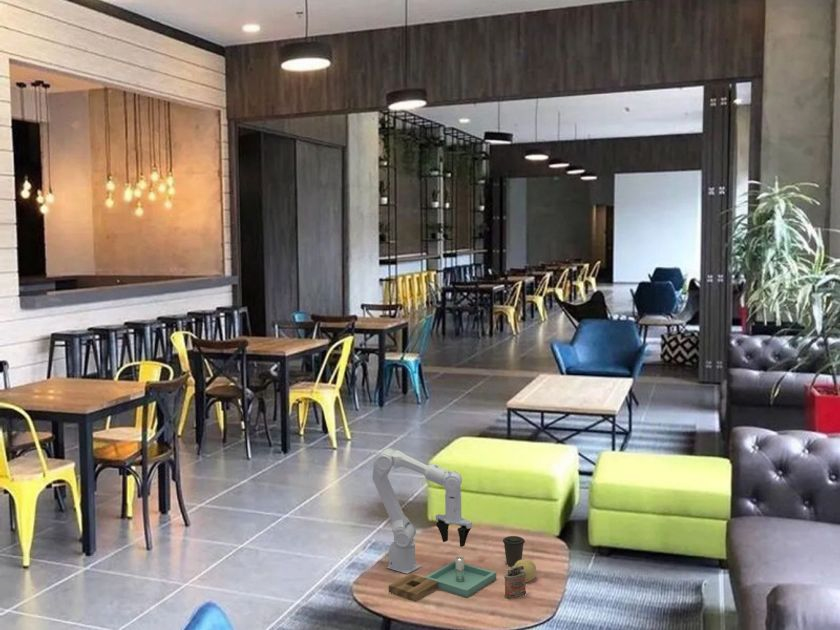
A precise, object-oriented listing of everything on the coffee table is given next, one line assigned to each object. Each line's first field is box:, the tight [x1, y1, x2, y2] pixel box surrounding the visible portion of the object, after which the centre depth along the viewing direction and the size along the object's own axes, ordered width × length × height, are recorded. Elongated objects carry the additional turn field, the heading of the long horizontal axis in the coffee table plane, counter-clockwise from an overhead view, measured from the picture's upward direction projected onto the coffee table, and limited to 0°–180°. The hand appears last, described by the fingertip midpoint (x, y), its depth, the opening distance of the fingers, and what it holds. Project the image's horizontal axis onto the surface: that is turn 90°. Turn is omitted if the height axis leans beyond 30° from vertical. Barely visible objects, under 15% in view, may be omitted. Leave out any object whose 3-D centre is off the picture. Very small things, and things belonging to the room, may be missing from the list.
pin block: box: [388, 573, 439, 602], centre depth 279 cm, size 12×12×2 cm
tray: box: [423, 560, 497, 599], centre depth 285 cm, size 18×18×3 cm
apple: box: [514, 558, 537, 583], centre depth 286 cm, size 8×8×8 cm
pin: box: [454, 556, 465, 582], centre depth 285 cm, size 3×3×8 cm
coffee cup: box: [502, 535, 526, 568], centre depth 299 cm, size 8×8×10 cm
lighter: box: [503, 565, 527, 600], centre depth 274 cm, size 8×3×10 cm, turn 117°
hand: (453, 543), depth 293 cm, fingers open, 7 cm apart
